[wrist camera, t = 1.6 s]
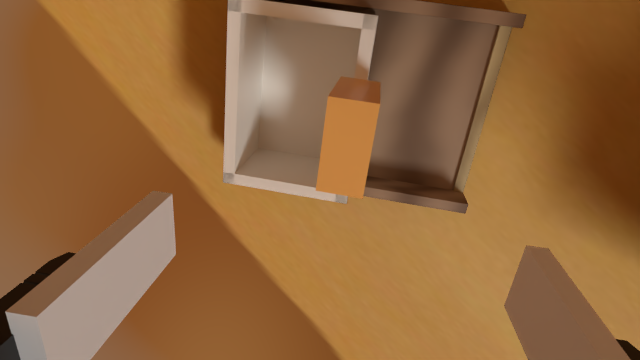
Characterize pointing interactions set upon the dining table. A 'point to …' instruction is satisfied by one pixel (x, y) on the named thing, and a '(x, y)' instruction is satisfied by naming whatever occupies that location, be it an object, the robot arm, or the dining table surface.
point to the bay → (429, 94)
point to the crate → (299, 99)
